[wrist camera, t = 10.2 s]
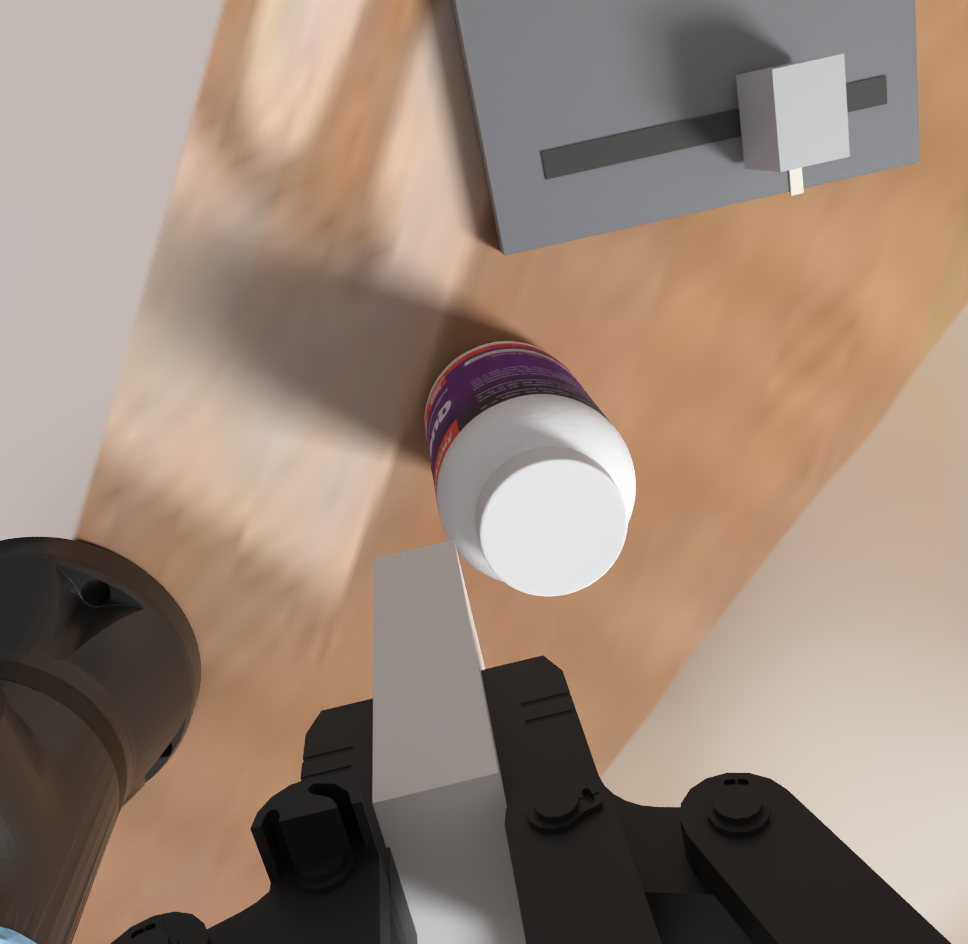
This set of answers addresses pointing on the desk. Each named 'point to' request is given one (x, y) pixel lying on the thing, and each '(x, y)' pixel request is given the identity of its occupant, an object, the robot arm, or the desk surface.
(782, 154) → the fader grey
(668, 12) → the panel
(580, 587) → the pill bottle
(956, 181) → the desk surface
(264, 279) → the desk surface
